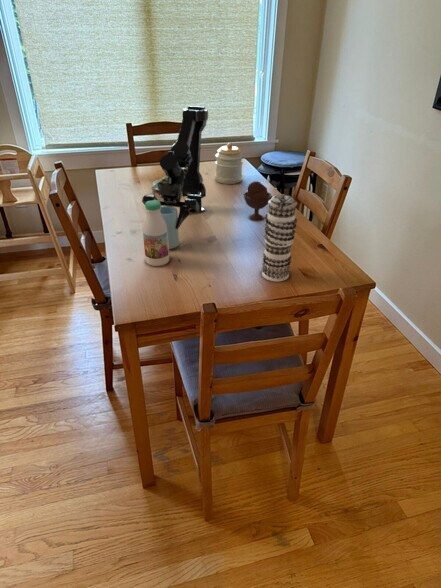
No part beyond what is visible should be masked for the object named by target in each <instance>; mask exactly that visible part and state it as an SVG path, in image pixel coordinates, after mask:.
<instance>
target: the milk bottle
mask: <svg viewBox="0 0 441 588" xmlns="http://www.w3.org/2000/svg"><path fill="white" fill-rule="evenodd" d="M144 207H145V211H146V213H145V214H146V215H145V218H144V220H143V223H142V238H143V249H144V257H145V262H146V263H147V264H148V266H153V267H160V266H164V265H167V264H168V263H169V261H170V248H169V244H168V232H167V225H166V223H165V221H164V219H163V217H162V215H161V212H160V210H161V207H162V206H161V203H160V202H159V201H156V200H151V201H147V202H146V203H145V205H144Z"/></svg>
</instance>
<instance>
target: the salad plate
mask: <svg viewBox="0 0 441 588" xmlns="http://www.w3.org/2000/svg"><path fill="white" fill-rule="evenodd" d="M167 178H168V177H167V176H166V175H165V176H163V177H161V179H157V180H154V181H153V182H152V187H151V189H150V190H152V191H154V192H156V193H157V194H159V185H165V183H167Z"/></svg>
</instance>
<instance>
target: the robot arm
mask: <svg viewBox="0 0 441 588" xmlns="http://www.w3.org/2000/svg"><path fill="white" fill-rule="evenodd" d="M181 117H182V120H181V124H180V128H179V132H178V135H177V139H176V142H175V143H173V144H172V145H171V148H170V151H169V150H168V151H167V154H164V155H163V156H162V157H161V158H160V159H159V167H160V168H161V170H162V171H163V173H164V175H165V177H166V176H167V177H168V178H167V183H165V185H159V193H158V196H160V198H161V199H159V198H157V196H156V195H153V194H145V195H143V196H142V200H141V202H142V205H144V206H145V203H146V202H147V201H151V200H156V201H159V202H160V203H161V207H164V206H171V207H175V208H179V213H178V220H177V224H176V229H178V230H179V228H180V227H181V226H182V224H183V223H184V221H185V220H186V219H187V218H188V217H189V215H190V216H192V214H199V213H200V212H204V211H206V209H205V208H204V207H203V206H202V204H203V203H202V199H204V198H206V196H207V190H206V186H205V184H204V178H203V176H202V174H201V173H200V167H201V166H200V164H201V162H200V161H201V146H202V132H203V131H204V130H205V128H206V127H207V121H208V120H209V111H208V110H207V109H206V107H205V106H192V105H188V106H187V108H183V110H182V116H181ZM187 167H188V171H187V170H186V171H185V169H182V168H187ZM182 197H186V198H185V199H184V201H181V199H182Z"/></svg>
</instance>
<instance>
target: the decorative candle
mask: <svg viewBox="0 0 441 588" xmlns="http://www.w3.org/2000/svg"><path fill="white" fill-rule="evenodd" d="M268 203H269V204H268V211H267V213H266V214H265V217H264V219H265V220H264V221H265V223H264V226H265V227H264V242H265V246H264V251H263V255H262V257H263V258H262V263H261V264H262V265H261V266H262V267H261V270H262V271H261V276H262V277H263V278H264V279H265V280H267V281H270V282H276V283H277V282H285V281H286V280H287V279H288V278H289V277H290V268H291V263H292V262H291V259H292V254H291V253H292V245H293V244H294V239H295V233H296V231H295V229H296V228H297V222H298V219H297V217H296V207H297V206H298V202H297V200H295V198H294V197H292V196H291V195H289V194H283V193H281V194H275V195H274V196H272V198H271V199H270V200H269V201H268Z"/></svg>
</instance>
